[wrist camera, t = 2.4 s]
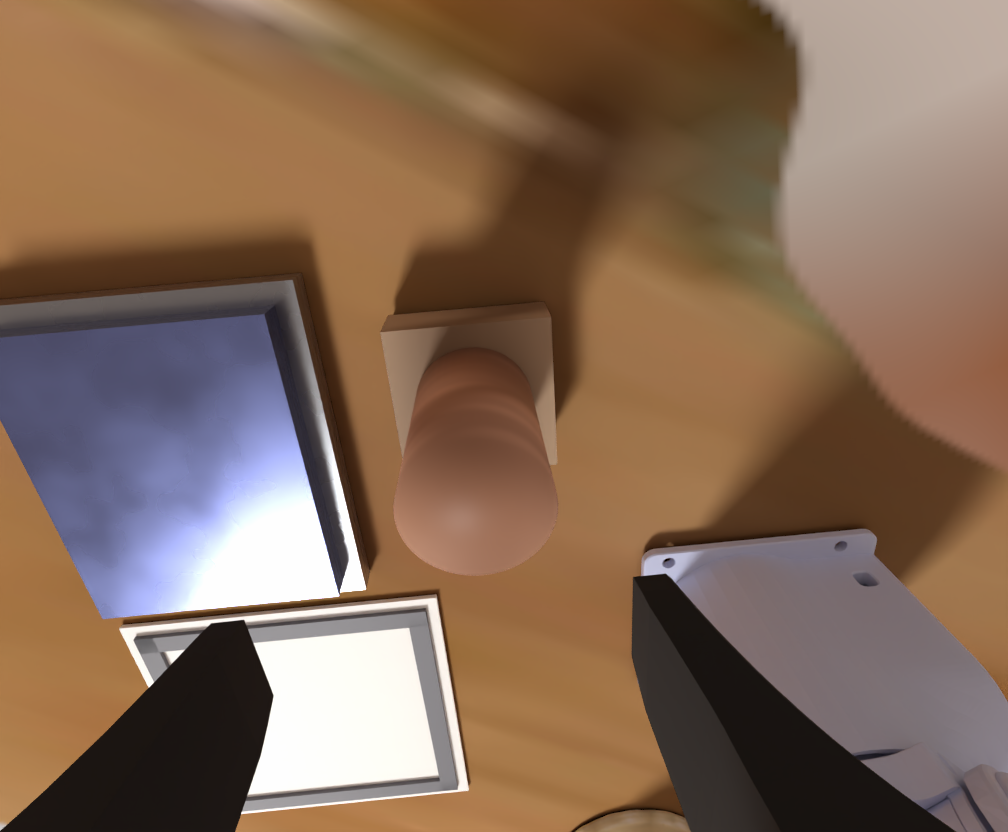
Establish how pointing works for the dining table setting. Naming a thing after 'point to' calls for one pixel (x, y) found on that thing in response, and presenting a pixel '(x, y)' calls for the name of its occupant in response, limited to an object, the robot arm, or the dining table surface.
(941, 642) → the robot arm
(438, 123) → the dining table surface
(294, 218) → the dining table surface
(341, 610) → the marked square
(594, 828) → the hand bell
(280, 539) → the ink pad
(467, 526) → the stamp
